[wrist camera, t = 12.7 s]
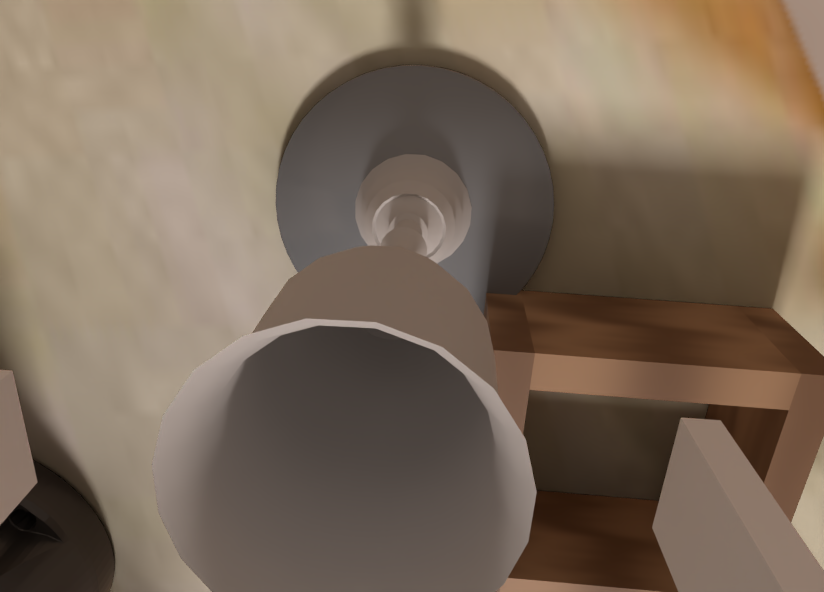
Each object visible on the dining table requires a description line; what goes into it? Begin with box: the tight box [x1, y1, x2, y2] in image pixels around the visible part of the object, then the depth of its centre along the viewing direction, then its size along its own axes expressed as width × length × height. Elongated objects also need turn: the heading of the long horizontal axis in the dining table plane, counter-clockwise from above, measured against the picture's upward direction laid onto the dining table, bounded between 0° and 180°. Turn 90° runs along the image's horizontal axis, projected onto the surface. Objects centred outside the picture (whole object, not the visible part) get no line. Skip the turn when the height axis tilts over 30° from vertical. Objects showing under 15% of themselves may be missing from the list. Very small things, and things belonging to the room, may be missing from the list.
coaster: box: [276, 65, 554, 315], centre depth 28 cm, size 12×12×1 cm
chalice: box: [152, 154, 537, 592], centre depth 20 cm, size 7×7×18 cm
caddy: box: [484, 290, 824, 592], centre depth 29 cm, size 13×13×6 cm
